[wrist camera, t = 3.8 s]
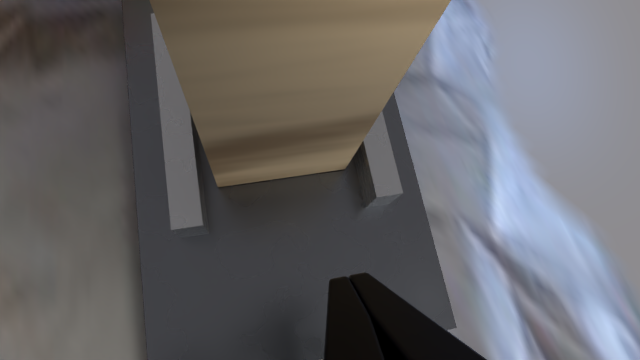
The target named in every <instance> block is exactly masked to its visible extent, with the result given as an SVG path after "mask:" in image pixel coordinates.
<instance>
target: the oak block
mask: <svg viewBox="0 0 640 360" xmlns="http://www.w3.org/2000/svg"><path fill="white" fill-rule="evenodd" d="M450 1H451V0H150V3H151V6H152V9H153V11H154V14H155V17H156V20H157V22H158V25H159V28H160V31H161V33H162V36H163V39H164V41H165V44H166V47H167V50H168V52H169V55H170V58H171V61H172V63H173V66H174V69H175V72H176V74H177V77H178V80H179V82H180V85H181V88H182V91H183V93H184V96H185V99H186V102H187V104H188V107H189V110H190V112H191V115H192V118H193V121H194V123H195V126H196V129H197V132H198V134H199V137H200V140H201V143H202V145H203V148H204V151H205V153H206V156H207V159H208V162H209V164H210V167H211V170H212V173H213V175H214V178H215V181H216V184H217V186H218V187H224V186H231V185H238V184H245V183H252V182H259V181H266V180H273V179H280V178H287V177H294V176H301V175H308V174H315V173H322V172H329V171H336V170H343V169H346V167H347V166H348V164H349V162H350V161H351V159H352V158H353V156H354V154H355V153H356V151H357V150H358V148H359V146H360V145H361V143H362V142H363V140H364V138H365V137H366V135H367V134H368V132H369V131H370V129H371V127H372V126H373V124H374V123H375V121H376V119H377V118H378V116H379V115H380V113H381V111H382V110H383V108H384V107H385V105H386V103H387V102H388V100H389V99H390V97H391V95H392V94H393V92H394V91H395V89H396V87H397V86H398V84H399V83H400V81H401V79H402V78H403V76H404V75H405V73H406V71H407V70H408V68H409V67H410V65H411V63H412V62H413V60H414V59H415V57H416V55H417V54H418V52H419V51H420V49H421V47H422V46H423V44H424V43H425V41H426V39H427V38H428V36H429V35H430V33H431V31H432V30H433V28H434V27H435V25H436V23H437V22H438V20H439V19H440V17H441V15H442V14H443V12H444V11H445V9H446V7H447V6H448V4H449V3H450Z"/></svg>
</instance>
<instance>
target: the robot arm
mask: <svg viewBox="0 0 640 360" xmlns="http://www.w3.org/2000/svg"><path fill="white" fill-rule="evenodd" d="M323 360H487V359H485V358H484V357H482V356H481V355H480V354H478V353H477V352H476V351H474V350H473V349H471V348H470V347H469V346H467V345H466V344H465V343H463V342H462V341H460V340H459V339H458V338H456V337H455V336H454V335H452V334H451V333H450V332H448V331H447V330H445V329H444V328H443V327H441V326H440V325H439V324H437V323H436V322H434V321H433V320H432V319H430V318H429V317H428V316H426V315H425V314H424V313H422V312H421V311H419V310H418V309H417V308H415V307H414V306H413V305H411V304H410V303H408V302H407V301H406V300H404V299H403V298H402V297H400V296H399V295H397V294H396V293H395V292H393V291H392V290H391V289H389V288H388V287H387V286H385V285H384V284H382V283H381V282H380V281H378V280H377V279H376V278H374V277H373V276H371V275H370V274H369V273H366V272H363V273H358V274H353V275H350V276H349V277H346V276H343V277H338V278H333V279H330V281H329V288H328V302H327V317H326V331H325V345H324V359H323Z"/></svg>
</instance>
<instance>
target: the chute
mask: <svg viewBox="0 0 640 360" xmlns="http://www.w3.org/2000/svg"><path fill="white" fill-rule="evenodd" d="M122 10H123V24H124V38H125V52H126V66H127V80H128V94H129V108H130V122H131V136H132V150H133V164H134V178H135V192H136V206H137V220H138V234H139V248H140V262H141V276H142V290H143V303H144V317H145V331H146V345H147V359H148V360H319V359H324V345H325V331H326V317H327V302H328V288H329V281H330V279H333V278H338V277H343V276H346V277H349V276H350V275H353V274H358V273H363V272H366V273H369V274H370V275H371V276H373V277H374V278H376V279H377V280H378V281H380V282H381V283H382V284H384V285H385V286H387V287H388V288H389V289H391V290H392V291H393V292H395V293H396V294H397V295H399V296H400V297H402V298H403V299H404V300H406V301H407V302H408V303H410V304H411V305H413V306H414V307H415V308H417V309H418V310H419V311H421V312H422V313H424V314H425V315H426V316H428V317H429V318H430V319H432V320H433V321H434V322H436V323H437V324H439V325H440V326H441V327H443V328H444V329H445V330H449V329H453V328H457V327H456V323H455V320H454V316H453V312H452V309H451V305H450V301H449V297H448V294H447V290H446V286H445V282H444V279H443V275H442V271H441V267H440V264H439V260H438V256H437V252H436V249H435V245H434V241H433V237H432V234H431V230H430V226H429V223H428V219H427V215H426V211H425V208H424V204H423V200H422V196H421V193H420V189H419V185H418V181H417V178H416V174H415V170H414V166H413V163H412V159H411V155H410V152H409V148H408V144H407V140H406V137H405V133H404V129H403V125H402V122H401V118H400V114H399V110H398V107H397V103H396V99H395V95H394V92H393V94H392V95H391V97H390V99H389V100H388V102H387V103H386V105H385V107H384V108H383V110H382V111H381V113H380V115H379V116H378V118H377V119H376V121H375V123H374V124H373V126H372V127H371V129H370V131H369V132H368V134H367V135H366V137H365V138H364V140H363V142H362V143H361V145H360V146H359V148H358V150H357V151H356V153H355V154H354V156H353V158H352V159H351V161H350V162H349V164H348V166H347V167H346V169H343V170H336V171H329V172H322V173H315V174H308V175H301V176H294V177H287V178H280V179H273V180H266V181H259V182H252V183H245V184H238V185H231V186H224V187H218V186H217V184H216V181H215V178H214V175H213V173H212V170H211V167H210V164H209V162H208V159H207V156H206V153H205V151H204V148H203V145H202V143H201V140H200V137H199V134H198V132H197V129H196V126H195V123H194V121H193V118H192V115H191V112H190V110H189V107H188V104H187V102H186V99H185V96H184V93H183V91H182V88H181V85H180V82H179V80H178V77H177V74H176V72H175V69H174V66H173V63H172V61H171V58H170V55H169V52H168V50H167V47H166V44H165V41H164V39H163V36H162V33H161V31H160V28H159V25H158V22H157V20H156V17H155V14H154V11H153V9H152V6H151V3H150V0H122Z"/></svg>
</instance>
